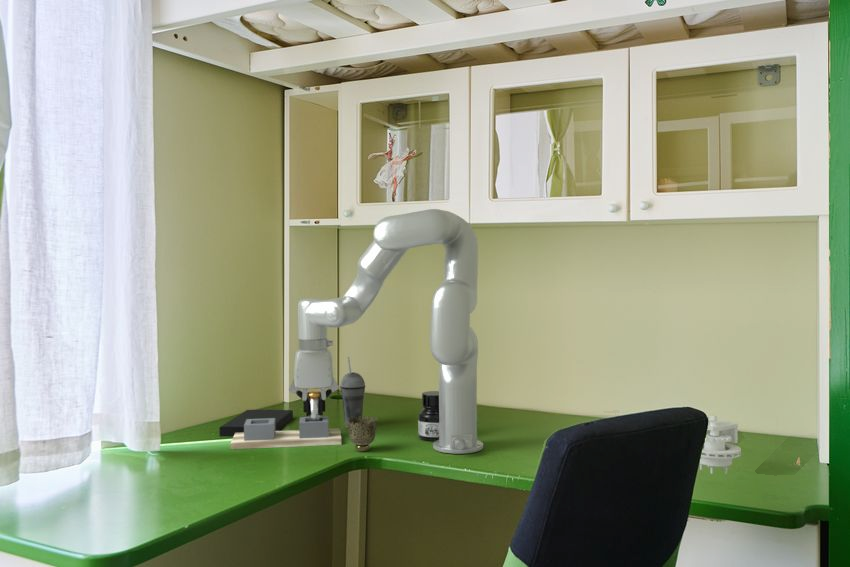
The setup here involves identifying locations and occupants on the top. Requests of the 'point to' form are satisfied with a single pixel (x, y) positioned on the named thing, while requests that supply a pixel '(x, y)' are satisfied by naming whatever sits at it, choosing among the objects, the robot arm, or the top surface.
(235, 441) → the dock board
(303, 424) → the lock mount
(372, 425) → the cup
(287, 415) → the external hard drive
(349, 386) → the beverage cup
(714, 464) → the mechanical part
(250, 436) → the dock socket
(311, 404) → the pin
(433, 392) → the ink bottle
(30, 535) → the top surface
